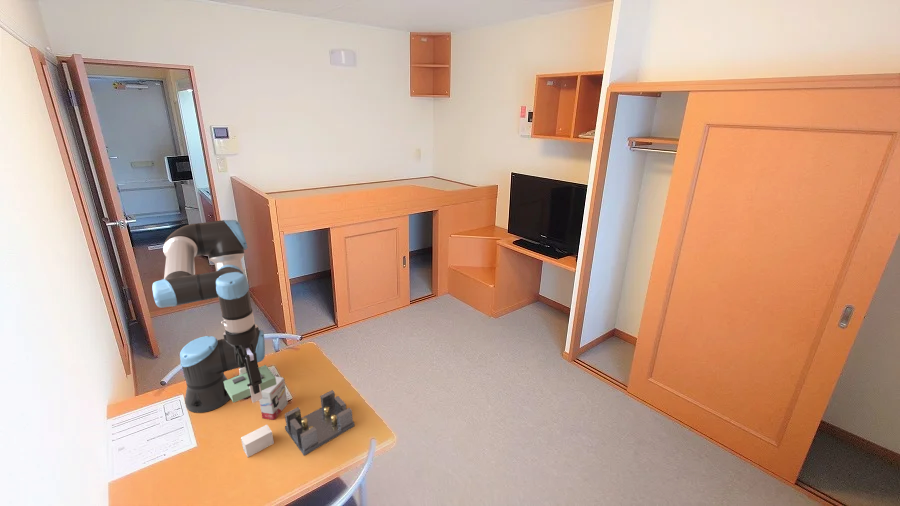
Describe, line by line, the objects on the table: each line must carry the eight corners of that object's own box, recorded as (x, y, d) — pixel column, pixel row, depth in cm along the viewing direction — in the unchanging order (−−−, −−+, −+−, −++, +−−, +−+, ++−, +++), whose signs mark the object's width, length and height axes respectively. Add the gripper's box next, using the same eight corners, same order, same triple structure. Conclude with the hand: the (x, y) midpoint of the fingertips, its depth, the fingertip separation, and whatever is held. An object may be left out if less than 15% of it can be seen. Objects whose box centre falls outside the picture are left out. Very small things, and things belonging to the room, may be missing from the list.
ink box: (274, 420, 137) (269, 393, 133) (261, 418, 138) (256, 391, 134) (288, 403, 145) (284, 377, 141) (276, 401, 146) (272, 374, 142)
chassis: (285, 430, 134) (282, 413, 131) (334, 404, 146) (332, 388, 143) (304, 455, 125) (301, 438, 122) (354, 426, 136) (353, 410, 134)
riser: (243, 449, 126) (240, 437, 124) (269, 436, 131) (267, 424, 129) (247, 457, 123) (245, 445, 122) (273, 443, 129) (271, 431, 127)
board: (224, 388, 118) (223, 379, 117) (266, 371, 126) (265, 363, 124) (233, 402, 112) (231, 394, 111) (276, 384, 120) (275, 375, 119)
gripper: (214, 316, 116) (228, 380, 124) (237, 348, 102) (250, 418, 110) (242, 308, 121) (253, 370, 129) (267, 337, 107) (278, 405, 115)
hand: (252, 392), depth 120 cm, fingers closed on board, 8 cm apart
